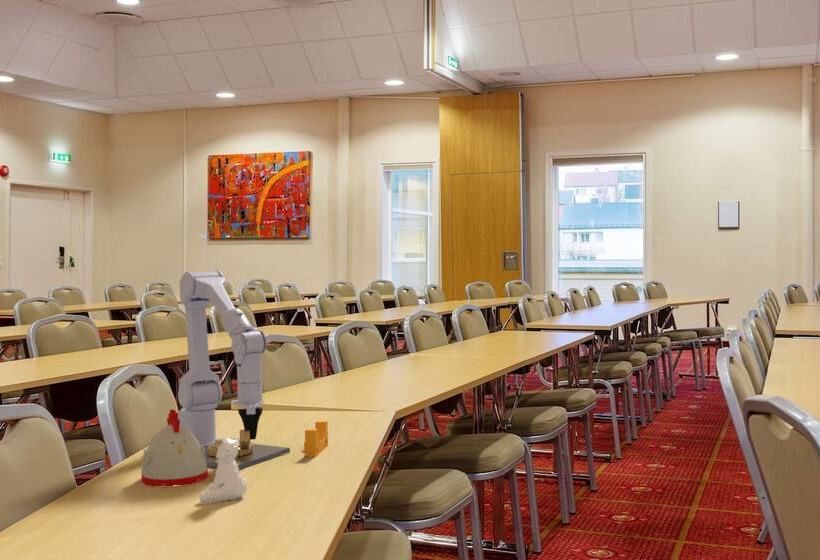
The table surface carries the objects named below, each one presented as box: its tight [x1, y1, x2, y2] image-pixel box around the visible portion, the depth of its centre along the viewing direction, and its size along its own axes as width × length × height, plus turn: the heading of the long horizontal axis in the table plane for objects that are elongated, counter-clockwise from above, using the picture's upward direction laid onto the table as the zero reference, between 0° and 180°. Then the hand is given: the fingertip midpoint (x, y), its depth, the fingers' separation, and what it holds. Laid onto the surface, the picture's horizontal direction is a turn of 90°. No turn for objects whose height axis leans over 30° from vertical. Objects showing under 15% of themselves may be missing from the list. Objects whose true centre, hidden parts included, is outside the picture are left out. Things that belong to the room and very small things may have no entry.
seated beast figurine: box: [199, 437, 247, 504], centre depth 183 cm, size 10×9×12 cm
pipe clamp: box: [303, 420, 329, 458], centre depth 223 cm, size 12×4×6 cm, turn 172°
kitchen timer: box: [140, 409, 209, 487], centre depth 198 cm, size 14×14×15 cm
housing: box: [204, 437, 291, 471], centre depth 218 cm, size 20×20×4 cm
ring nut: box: [207, 428, 254, 456], centre depth 218 cm, size 11×10×6 cm
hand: (250, 439), depth 216 cm, fingers closed, pressing on ring nut
